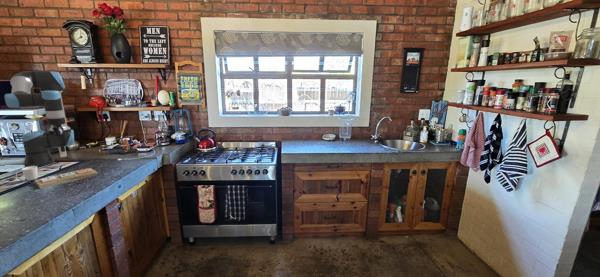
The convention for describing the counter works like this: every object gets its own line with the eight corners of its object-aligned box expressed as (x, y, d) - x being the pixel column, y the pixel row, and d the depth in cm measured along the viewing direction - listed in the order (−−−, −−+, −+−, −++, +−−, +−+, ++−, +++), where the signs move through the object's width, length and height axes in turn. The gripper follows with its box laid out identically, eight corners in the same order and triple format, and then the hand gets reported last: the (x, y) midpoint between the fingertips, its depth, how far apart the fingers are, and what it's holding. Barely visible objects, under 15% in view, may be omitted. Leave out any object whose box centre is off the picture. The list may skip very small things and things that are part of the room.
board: (35, 183, 145) (34, 179, 144) (90, 171, 166) (90, 167, 165) (40, 189, 138) (39, 185, 137) (97, 175, 158) (97, 171, 158)
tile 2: (59, 178, 151) (58, 174, 150) (72, 175, 156) (71, 171, 155) (62, 181, 147) (61, 176, 147) (75, 178, 152) (74, 173, 152)
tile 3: (76, 174, 157) (75, 171, 157) (88, 172, 162) (87, 168, 161) (79, 177, 154) (79, 173, 153) (91, 174, 159) (91, 170, 158)
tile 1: (41, 182, 144) (40, 178, 144) (55, 179, 149) (54, 175, 149) (43, 185, 141) (42, 181, 140) (57, 182, 146) (56, 177, 145)
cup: (37, 181, 148) (34, 168, 146) (14, 184, 144) (10, 171, 142) (43, 177, 154) (40, 165, 152) (21, 180, 150) (18, 167, 148)
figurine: (118, 152, 210) (116, 138, 207) (132, 150, 217) (130, 136, 215) (122, 154, 203) (120, 140, 201) (136, 152, 211) (134, 138, 208)
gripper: (43, 117, 145) (52, 155, 151) (49, 119, 138) (58, 160, 144) (61, 115, 151) (68, 153, 157) (67, 118, 144) (75, 157, 150)
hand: (63, 156), depth 150 cm, fingers closed
